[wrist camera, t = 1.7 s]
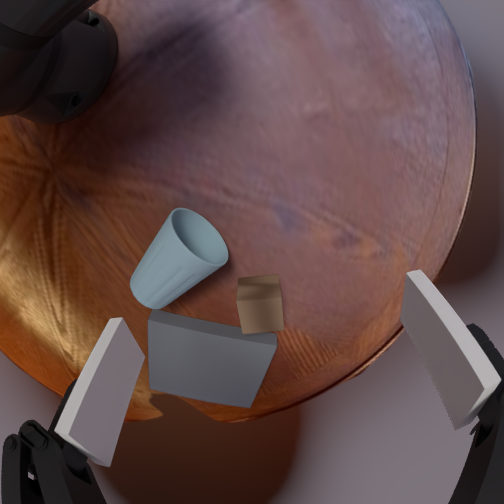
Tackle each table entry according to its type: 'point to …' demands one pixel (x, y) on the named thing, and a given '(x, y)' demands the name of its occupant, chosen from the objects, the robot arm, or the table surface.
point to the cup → (178, 259)
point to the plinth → (206, 359)
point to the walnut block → (260, 304)
